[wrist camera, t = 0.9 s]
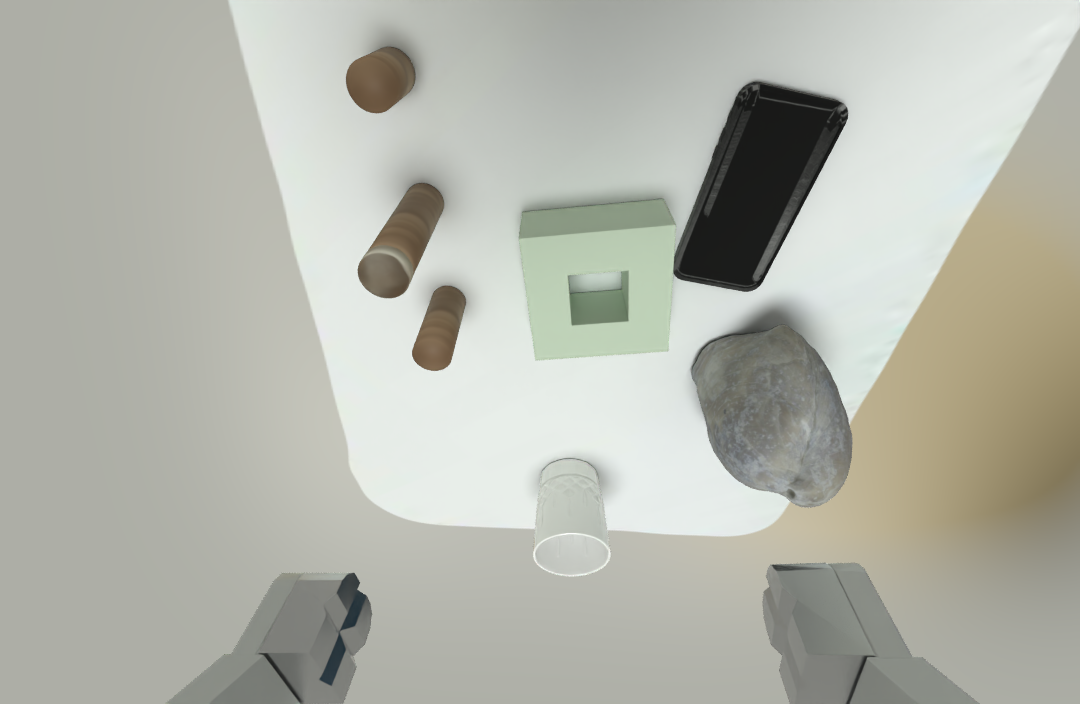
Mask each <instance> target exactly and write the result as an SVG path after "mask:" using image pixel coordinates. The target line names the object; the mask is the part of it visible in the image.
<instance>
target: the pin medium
mask: <svg viewBox="0 0 1080 704" xmlns="http://www.w3.org/2000/svg"><path fill="white" fill-rule="evenodd" d="M465 305H466V299H465V297H464V295H463V293H462V292H461V291H460V290H458V289H457V288H454V287H451V286H443V287H440V288H438V289H436V290H435V291H434V293H433V295H432V298H431V301H430V303H429V306H428V309H427V312H426V314H425V317H424V320H423V323H422V325H421V328H420V331H419V333H418V336H417V339H416V342H415V344H414V347H413V350H412V356H413V359H414V360H415V362H416V363H417V364H418V365H419V366H421V367H422V368H424V369H427V370H431V371H438V370H442V369H444V368H446V367H447V366H448V365H449V364H450V362H451V360H452V356H453V352H454V348H455V344H456V340H457V336H458V332H459V328H460V324H461V321H462V317H463V313H464V309H465Z"/></svg>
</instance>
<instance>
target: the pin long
mask: <svg viewBox="0 0 1080 704" xmlns="http://www.w3.org/2000/svg"><path fill="white" fill-rule="evenodd" d="M443 208H444V201H443V198H442V195H441V194H440V192H439V191H438V190H437V189H436V188H435V187H433V186H431V185H429V184H425V183H419V184H415V185H413V186H412V187H410V188H409V190H408V191H407V192H406V194H405V196H404V197H403V199H402V200H401V202H400V203H399V205H398V206H397V208H396V209H395V211H394V212H393V214H392V215H391V217H390V218H389V220H388V221H387V223H386V224H385V226H384V227H383V229H382V230H381V232H380V233H379V235H378V236H377V238H376V239H375V241H374V242H373V244H372V245H371V247H370V248H369V250H368V251H367V253H366V254H365V255H364V257H363V258H362V260H361V261H360V263H359V266H358V277H359V279H360V282H361V283H362V285H363V286H364V287H365V288H366V289H367V290H368V291H369V292H371V293H372V294H374V295H376V296H378V297H382V298H395V297H398V296H400V295H402V294H403V293H404V292H405V291H406V290H407V288H408V286H409V284H410V282H411V280H412V277H413V275H414V272H415V270H416V268H417V266H418V264H419V262H420V259H421V257H422V255H423V253H424V251H425V248H426V246H427V244H428V242H429V240H430V238H431V235H432V233H433V231H434V229H435V227H436V224H437V222H438V220H439V218H440V216H441V214H442V211H443Z"/></svg>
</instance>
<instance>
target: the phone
mask: <svg viewBox="0 0 1080 704" xmlns="http://www.w3.org/2000/svg"><path fill="white" fill-rule="evenodd" d="M847 119H848V110H847V107H846V106H845V105H844V104H843V103H841V102H839V101H837V100H834V99H830V98H826V97H821V96H817V95H813V94H808V93H804V92H800V91H795V90H791V89H787V88H782V87H778V86H774V85H769V84H765V83H761V82H753V83H750V84H748V85H746V86H745V87H743V88H742V90H741V91H740V92H739V93H738V95H737V97H736V100H735V102H734V105H733V107H732V110H731V112H730V114H729V117H728V120H727V123H726V125H725V128H724V129H723V131H722V134H721V137H720V139H719V143H718V146H716V149H715V151H714V154H713V156H712V158H713V159H712V161H711V164H710V166H709V169H708V171H707V174H706V177H705V179H704V182H703V184H702V187H701V189H700V192H699V195H698V197H697V200H696V202H695V205H694V207H693V210H692V213H691V215H690V218H689V220H688V223H687V225H686V228H685V230H684V233H683V236H682V238H681V241H680V243H679V246H678V248H677V251H676V254H675V256H674V267H673V272H674V274H675V276H676V277H677V278H678V279H681V280H685V281H690V282H695V283H701V284H706V285H711V286H717V287H722V288H727V289H733V290H738V291H743V292H749V291H753V290H755V289H757V288H758V287H759V286H760V285H761V284H762V282H763V280H764V278H765V276H766V275H767V273H768V271H769V269H770V267H771V265H772V263H773V261H774V259H775V257H776V255H777V254H778V252H779V250H780V248H781V246H782V244H783V242H784V240H785V238H786V236H787V235H788V233H789V231H790V229H791V227H792V225H793V223H794V221H795V219H796V217H797V215H798V214H799V212H800V210H801V208H802V206H803V204H804V202H805V200H806V198H807V196H808V194H809V193H810V191H811V189H812V187H813V185H814V183H815V181H816V179H817V177H818V175H819V173H820V172H821V170H822V168H823V166H824V164H825V162H826V160H827V158H828V156H829V154H830V153H831V151H832V149H833V147H834V145H835V143H836V141H837V139H838V137H839V135H840V133H841V132H842V130H843V128H844V126H845V124H846V121H847Z"/></svg>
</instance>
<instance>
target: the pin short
mask: <svg viewBox="0 0 1080 704" xmlns="http://www.w3.org/2000/svg"><path fill="white" fill-rule="evenodd" d="M414 82H415V70H414V67H413V64H412V62H411V60H410V59H409V58H408V56H407V55H406V54H405V53H403V52H402V51H401V50H399V49H397V48H393V47H385V48H382V49H379V50H377V51H375V52H372V53H370V54H368V55H366V56H364V57H361V58H359V59H357V60H355V61H354V62H353V63H352V64H351V65H350V67H349V69H348V71H347V75H346V84H347V89H348V92H349V94H350V96H351V98H352V99H353V101H354V102H355V103H356V104H357V105H358V106H359V107H360V108H362V109H364V110H365V111H368V112H371V113H382V112H385V111H387V110H389V109H390V108H391V107H392V106H393V105H395V104H396V103H397V102H398V101H399V100H401V99H402V98H403V97H404V96H405V95H407V94H408V93H409V92H410V91H411V89H412V88H413V86H414Z"/></svg>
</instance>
